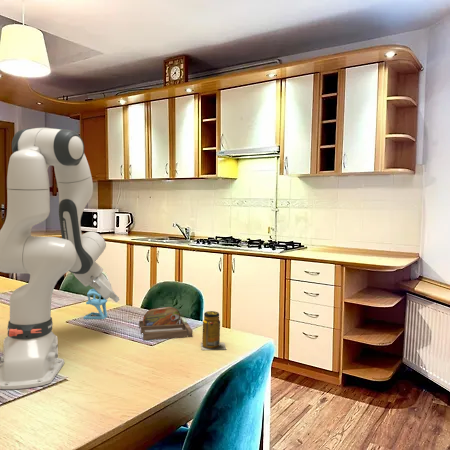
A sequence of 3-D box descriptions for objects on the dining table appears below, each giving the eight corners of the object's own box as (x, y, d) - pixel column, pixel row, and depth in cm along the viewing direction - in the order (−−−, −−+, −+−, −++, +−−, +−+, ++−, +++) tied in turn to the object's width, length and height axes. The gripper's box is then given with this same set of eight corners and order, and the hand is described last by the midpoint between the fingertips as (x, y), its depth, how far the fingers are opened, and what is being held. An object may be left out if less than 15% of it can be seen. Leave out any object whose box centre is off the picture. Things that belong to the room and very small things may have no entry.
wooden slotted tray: (192, 337, 157) (192, 328, 156) (143, 340, 151) (143, 331, 151) (183, 324, 172) (183, 316, 172) (139, 326, 167) (139, 319, 166)
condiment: (200, 343, 151) (201, 310, 150) (224, 342, 151) (225, 310, 151) (201, 350, 143) (202, 315, 143) (226, 350, 144) (227, 315, 143)
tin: (144, 333, 160) (145, 311, 159) (141, 330, 162) (142, 309, 162) (180, 327, 168) (181, 306, 167) (176, 325, 170) (177, 304, 170)
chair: (101, 320, 173) (102, 292, 173) (83, 319, 175) (83, 290, 174) (109, 315, 181) (110, 288, 180) (91, 314, 182) (92, 286, 182)
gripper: (97, 272, 146) (126, 299, 149) (97, 265, 166) (122, 289, 169) (84, 285, 145) (112, 312, 148) (85, 277, 164) (110, 301, 167)
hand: (117, 300), depth 158 cm, fingers closed
